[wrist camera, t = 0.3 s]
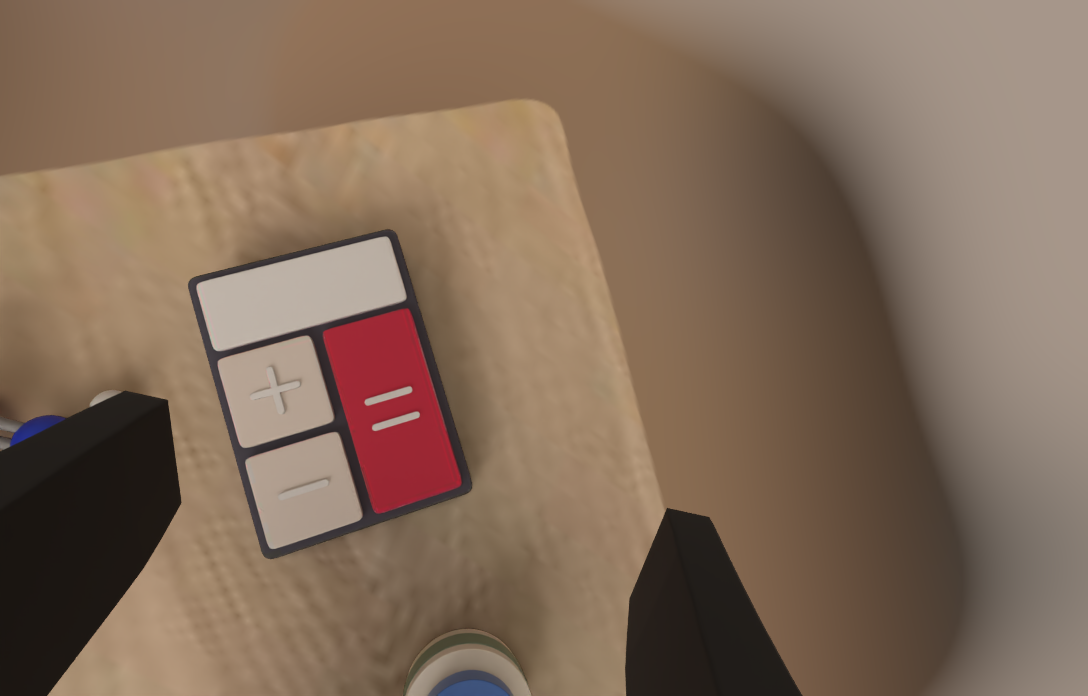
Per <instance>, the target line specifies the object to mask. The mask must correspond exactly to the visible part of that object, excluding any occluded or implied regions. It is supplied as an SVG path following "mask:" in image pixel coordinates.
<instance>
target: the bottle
mask: <svg viewBox="0 0 1088 696" xmlns="http://www.w3.org/2000/svg"><path fill="white" fill-rule="evenodd" d="M403 696H531V693H530V689H529V686H528V683H527V680H526V678H525V676H524V674H523V671H522V669H521V667H520V665H519V663H518V661H517V660H516V658H515V657H514V655H513V653H512V652H511V650H510V649H509V648H508V647H507V646H506V645H505V644H504V643H503V642H502V641H501V640H500V639H498V638H497V637H495V636H493V635H491V634H489V633H487V632H484V631H481V630H476V629H459V630H454V631H450V632H447V633H445V634H443V635H441V636H439V637H437V638H435V639H434V640H433V641H431V642H430V643H429V644H428V645H427V646H425V647H424V648H423V649H422V651H421V652H420V653H419V654H418V656H417V657H416V659H415V660H414V662H413V664H412V666H411V668H410V670H409V673H408V676H407V679H406V683H405V687H404V692H403Z"/></svg>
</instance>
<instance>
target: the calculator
mask: <svg viewBox="0 0 1088 696" xmlns="http://www.w3.org/2000/svg"><path fill="white" fill-rule="evenodd" d="M188 288H189V292H190V296H191V300H192V303H193V307H194V310H195V314H196V318H197V321H198V325H199V328H200V332H201V336H202V339H203V343H204V346H205V350H206V354H207V357H208V361H209V364H210V368H211V371H212V375H213V379H214V382H215V386H216V389H217V393H218V397H219V400H220V404H221V407H222V411H223V415H224V418H225V422H226V425H227V429H228V433H229V436H230V440H231V443H232V447H233V450H234V454H235V458H236V461H237V465H238V468H239V472H240V476H241V479H242V483H243V486H244V490H245V494H246V497H247V501H248V504H249V508H250V512H251V515H252V519H253V522H254V526H255V530H256V533H257V537H258V540H259V544H260V547H261V551H262V554H263V555H264V557H266V558H268V559H274V558H278V557H281V556H284V555H287V554H290V553H293V552H295V551H298V550H301V549H304V548H307V547H310V546H313V545H316V544H319V543H322V542H325V541H328V540H331V539H334V538H337V537H340V536H343V535H346V534H349V533H352V532H355V531H358V530H361V529H364V528H367V527H369V526H372V525H375V524H378V523H381V522H384V521H387V520H390V519H393V518H396V517H399V516H402V515H405V514H408V513H411V512H414V511H417V510H420V509H423V508H426V507H429V506H432V505H435V504H438V503H441V502H443V501H446V500H449V499H452V498H455V497H458V496H461V495H464V494H466V493H468V492H469V491H470V490H471V488H472V481H471V477H470V474H469V471H468V467H467V464H466V461H465V457H464V454H463V451H462V448H461V444H460V441H459V438H458V434H457V431H456V428H455V424H454V421H453V418H452V415H451V411H450V408H449V405H448V401H447V398H446V395H445V391H444V388H443V385H442V381H441V378H440V375H439V372H438V368H437V365H436V362H435V358H434V355H433V352H432V348H431V345H430V342H429V339H428V335H427V332H426V329H425V325H424V322H423V319H422V315H421V312H420V309H419V306H418V302H417V299H416V296H415V292H414V289H413V286H412V282H411V279H410V276H409V273H408V269H407V266H406V263H405V259H404V256H403V253H402V249H401V246H400V243H399V240H398V237H397V234H396V233H395V232H394V231H393V230H390V229H387V230H382V231H378V232H374V233H370V234H366V235H362V236H358V237H354V238H350V239H345V240H341V241H337V242H333V243H329V244H325V245H321V246H317V247H313V248H309V249H305V250H301V251H297V252H293V253H289V254H285V255H281V256H277V257H273V258H269V259H265V260H261V261H257V262H253V263H249V264H245V265H241V266H236V267H232V268H228V269H224V270H220V271H216V272H212V273H208V274H204V275H200V276H196V277H194V278H192V279H191V280H190V281H189V283H188Z"/></svg>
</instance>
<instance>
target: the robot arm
mask: <svg viewBox="0 0 1088 696" xmlns="http://www.w3.org/2000/svg"><path fill="white" fill-rule="evenodd" d="M180 505H181V495H180V488H179V481H178V473H177V466H176V458H175V451H174V443H173V436H172V428H171V421H170V413H169V406H168V400H165V399H161V398H156V397H152V396H147V395H142V394H138V393H133V392H128V391H123V392H121V393H119V394H117V395H115V396H112V397H110V398H108V399H106V400H104V401H102V402H99V403H97V404H95V405H93V406H91V407H89V408H87V409H85V410H83V411H81V412H79V413H77V414H75V415H73V416H71V417H69V418H67V419H65V420H63V421H61V422H59V423H57V424H55V425H53V426H51V427H49V428H47V429H45V430H43V431H41V432H39V433H37V434H35V435H33V436H31V437H29V438H27V439H25V440H23V441H21V442H19V443H16V444H14V445H12V446H10V447H8V448H6V449H4V450H2V451H0V696H47V695H48V694H49V693H50V691H51V690H52V689H53V687H54V686H55V685H56V683H57V682H58V681H59V679H60V678H61V677H62V675H63V674H64V673H65V672H66V670H67V669H68V668H69V666H70V665H71V664H72V662H73V661H74V660H75V658H76V657H77V656H78V655H79V653H80V652H81V651H82V649H83V648H84V647H85V645H86V644H87V643H88V641H89V640H90V639H91V637H92V636H93V635H94V634H95V632H96V631H97V630H98V628H99V627H100V626H101V624H102V623H103V622H104V620H105V619H106V618H107V617H108V615H109V614H110V613H111V611H112V610H113V609H114V607H115V606H116V605H117V603H118V602H119V601H120V599H121V598H122V597H123V595H124V594H125V593H126V591H127V590H128V589H129V587H130V586H131V585H132V583H133V582H134V580H135V579H136V578H137V576H138V575H139V574H140V572H141V571H142V570H143V568H144V567H145V565H146V563H147V562H148V560H149V558H150V557H151V555H152V553H153V552H154V550H155V548H156V547H157V545H158V544H159V542H160V540H161V539H162V537H163V535H164V533H165V531H166V530H167V528H168V526H169V524H170V522H171V521H172V519H173V517H174V515H175V514H176V512H177V510H178V508H179V506H180ZM625 674H626V696H802V694H801V692H800V691H799V689H798V687H797V686H796V684H795V682H794V680H793V679H792V677H791V675H790V673H789V671H788V670H787V668H786V666H785V664H784V662H783V660H782V659H781V657H780V655H779V653H778V651H777V649H776V648H775V646H774V644H773V642H772V640H771V638H770V637H769V635H768V633H767V631H766V629H765V628H764V626H763V624H762V622H761V620H760V618H759V616H758V614H757V612H756V610H755V608H754V606H753V604H752V602H751V600H750V598H749V596H748V594H747V592H746V590H745V589H744V586H743V585H742V583H741V580H740V579H739V577H738V574H737V572H736V570H735V568H734V566H733V564H732V562H731V560H730V558H729V556H728V554H727V552H726V550H725V548H724V545H723V544H722V541H721V539H720V537H719V535H718V533H717V531H716V529H715V527H714V525H713V523H712V521H711V520H710V518H709V517H706V516H701V515H697V514H692V513H687V512H683V511H678V510H673V509H669V508H667V510H666V512H665V515H664V517H663V519H662V522H661V524H660V527H659V529H658V531H657V534H656V536H655V539H654V541H653V543H652V546H651V548H650V551H649V553H648V556H647V558H646V560H645V563H644V565H643V568H642V570H641V572H640V575H639V577H638V580H637V582H636V584H635V587H634V589H633V592H632V594H631V597H630V601H629V615H628V629H627V646H626V665H625Z"/></svg>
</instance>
